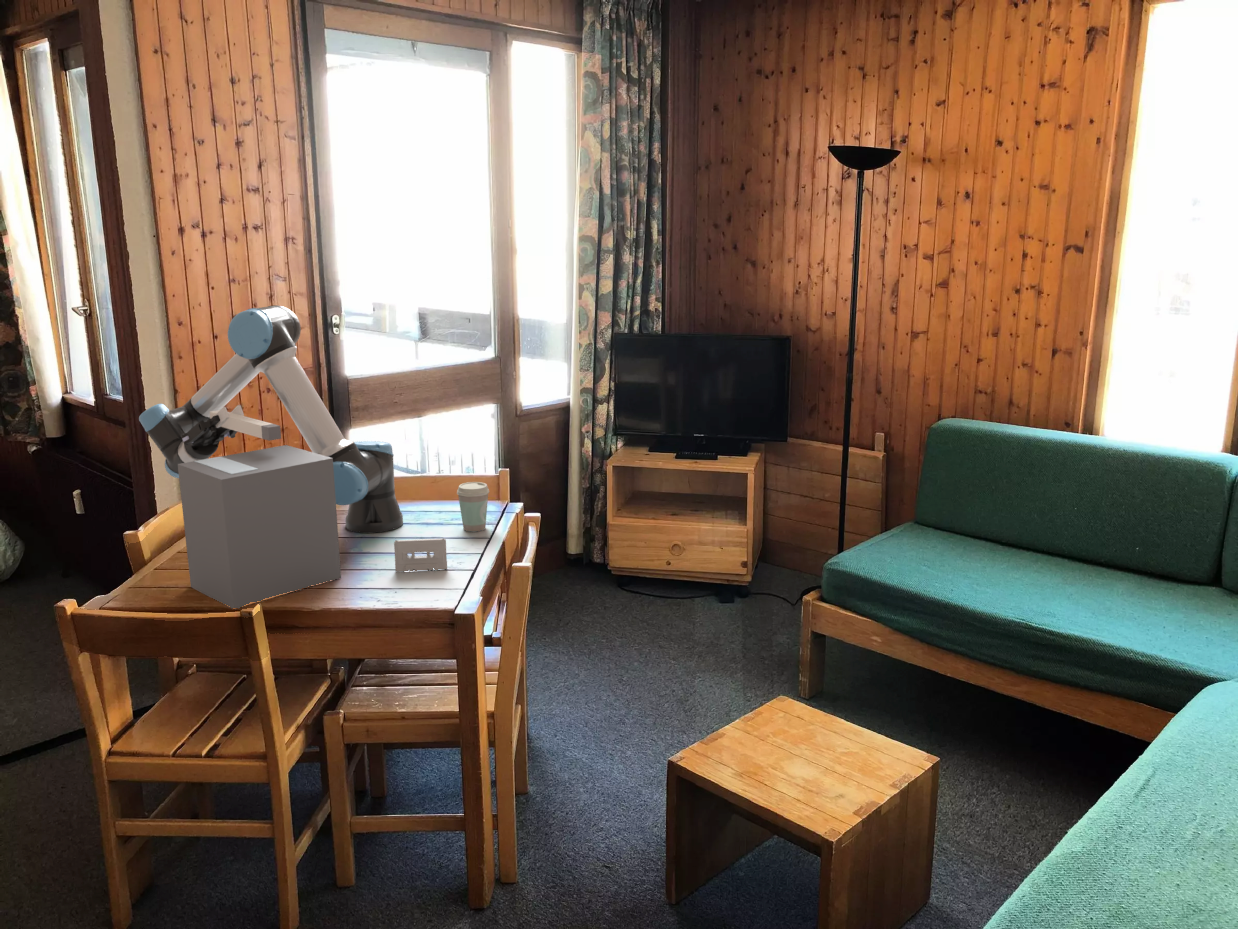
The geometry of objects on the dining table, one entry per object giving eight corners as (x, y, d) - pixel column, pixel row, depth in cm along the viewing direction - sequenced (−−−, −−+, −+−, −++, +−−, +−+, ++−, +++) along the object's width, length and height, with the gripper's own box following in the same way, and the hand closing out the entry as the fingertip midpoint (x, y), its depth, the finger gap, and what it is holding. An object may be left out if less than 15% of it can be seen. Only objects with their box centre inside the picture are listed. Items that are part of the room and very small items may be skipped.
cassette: (395, 573, 234) (393, 542, 232) (395, 570, 236) (394, 539, 234) (447, 571, 236) (445, 540, 234) (447, 568, 237) (446, 537, 236)
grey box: (190, 587, 225) (177, 463, 218) (295, 559, 244) (286, 444, 237) (233, 609, 212) (221, 479, 205) (341, 578, 230) (332, 457, 224)
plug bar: (210, 423, 244) (209, 411, 243) (222, 421, 246) (221, 409, 245) (269, 440, 226) (268, 427, 225) (281, 438, 228) (280, 425, 227)
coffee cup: (484, 534, 263) (483, 490, 260) (453, 532, 264) (451, 488, 262) (494, 525, 271) (493, 482, 268) (464, 523, 273) (463, 480, 270)
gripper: (233, 454, 259) (269, 420, 243) (171, 465, 248) (205, 430, 232) (224, 428, 260) (259, 392, 244) (162, 437, 249) (195, 401, 233)
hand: (233, 411), depth 238 cm, fingers closed on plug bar, 3 cm apart
